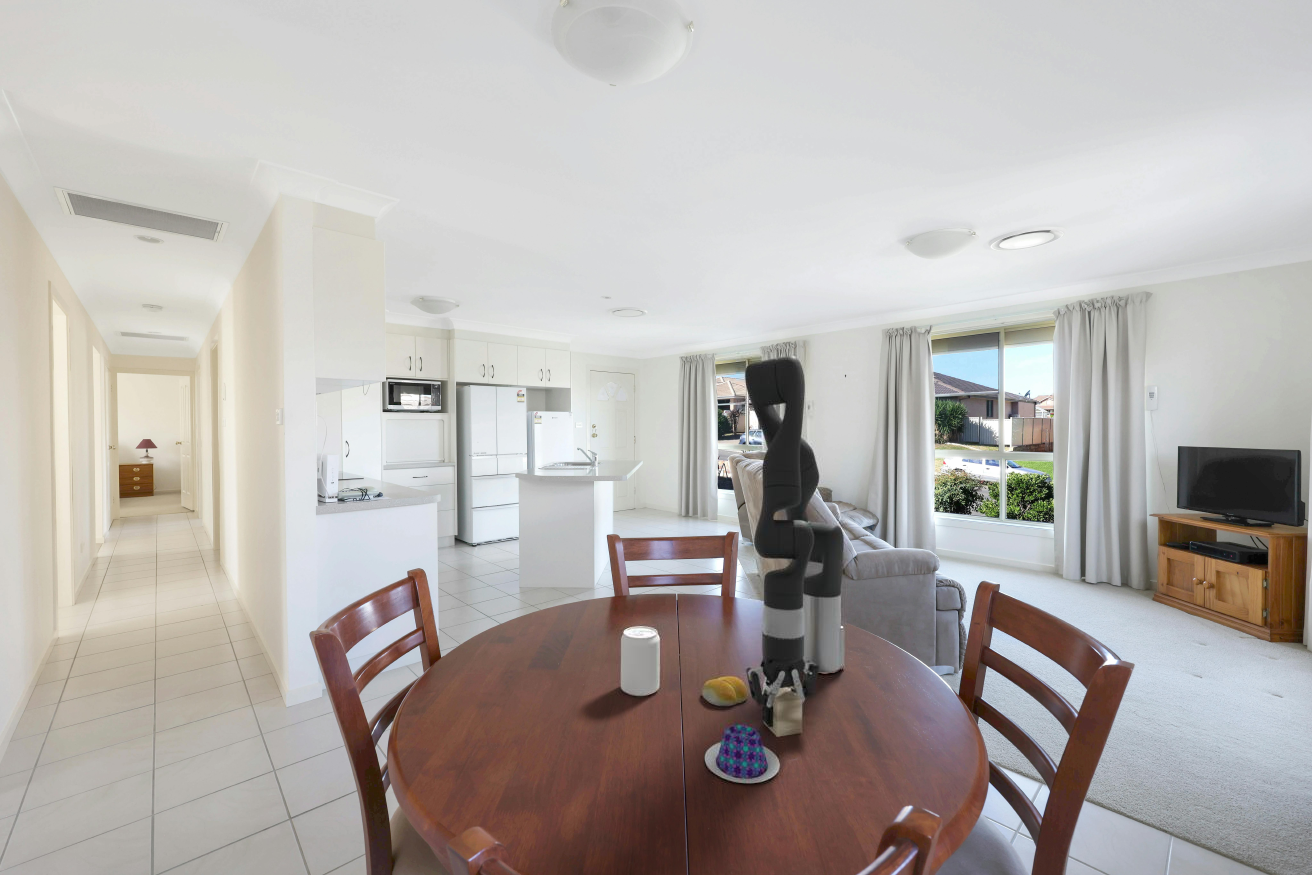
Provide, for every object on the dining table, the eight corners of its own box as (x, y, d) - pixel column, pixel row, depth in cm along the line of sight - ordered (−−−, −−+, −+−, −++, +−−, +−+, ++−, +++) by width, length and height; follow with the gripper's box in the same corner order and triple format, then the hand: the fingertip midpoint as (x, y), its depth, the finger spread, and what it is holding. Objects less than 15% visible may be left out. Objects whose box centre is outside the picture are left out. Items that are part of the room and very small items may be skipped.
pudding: (783, 751, 93) (783, 720, 93) (774, 794, 82) (775, 759, 82) (713, 739, 97) (714, 709, 97) (696, 778, 86) (696, 744, 86)
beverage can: (655, 699, 111) (655, 640, 111) (616, 695, 113) (616, 636, 113) (662, 682, 119) (663, 626, 119) (626, 679, 121) (626, 624, 121)
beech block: (787, 718, 104) (787, 686, 104) (801, 732, 99) (802, 699, 99) (763, 722, 102) (763, 690, 102) (776, 736, 98) (777, 702, 98)
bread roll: (755, 699, 112) (755, 680, 112) (721, 711, 107) (721, 690, 107) (728, 684, 119) (728, 666, 119) (695, 694, 114) (695, 675, 114)
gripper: (806, 619, 106) (805, 707, 106) (738, 626, 102) (737, 717, 102) (829, 632, 99) (828, 727, 99) (756, 640, 95) (756, 739, 95)
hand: (782, 722), depth 101 cm, fingers closed on beech block, 5 cm apart
